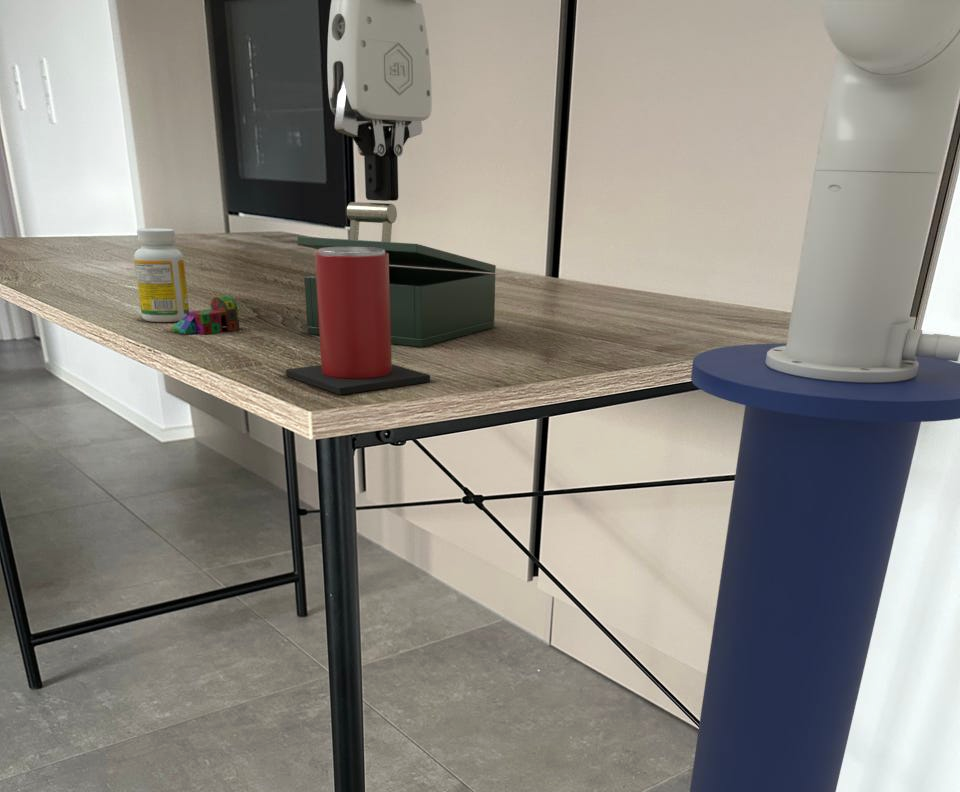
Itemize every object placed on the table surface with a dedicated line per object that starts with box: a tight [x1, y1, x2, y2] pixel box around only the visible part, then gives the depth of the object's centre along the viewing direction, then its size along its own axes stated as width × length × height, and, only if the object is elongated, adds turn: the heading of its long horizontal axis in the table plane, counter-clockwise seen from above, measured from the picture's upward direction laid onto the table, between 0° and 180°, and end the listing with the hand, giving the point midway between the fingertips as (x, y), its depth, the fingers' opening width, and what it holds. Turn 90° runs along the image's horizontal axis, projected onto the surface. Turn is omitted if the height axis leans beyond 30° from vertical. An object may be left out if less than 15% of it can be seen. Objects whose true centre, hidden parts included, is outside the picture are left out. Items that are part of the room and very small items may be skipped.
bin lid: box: [296, 201, 497, 274], centre depth 100 cm, size 17×15×5 cm
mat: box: [285, 363, 431, 396], centre depth 81 cm, size 9×9×1 cm
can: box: [314, 247, 393, 379], centre depth 79 cm, size 6×6×10 cm
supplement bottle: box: [133, 227, 190, 323], centre depth 107 cm, size 5×5×10 cm
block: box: [170, 295, 241, 335], centre depth 102 cm, size 6×4×3 cm
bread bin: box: [303, 265, 496, 348], centre depth 103 cm, size 16×15×6 cm
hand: (382, 199), depth 96 cm, fingers closed
